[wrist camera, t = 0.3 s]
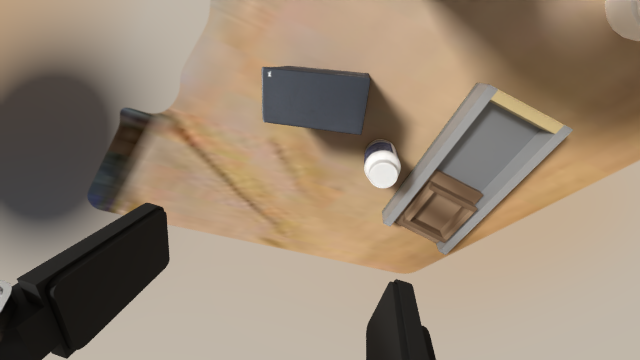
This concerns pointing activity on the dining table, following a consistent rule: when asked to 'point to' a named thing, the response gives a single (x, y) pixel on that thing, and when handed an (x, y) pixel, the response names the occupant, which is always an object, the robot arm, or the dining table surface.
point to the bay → (483, 152)
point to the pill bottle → (381, 163)
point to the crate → (439, 207)
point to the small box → (315, 98)
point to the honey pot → (624, 17)
